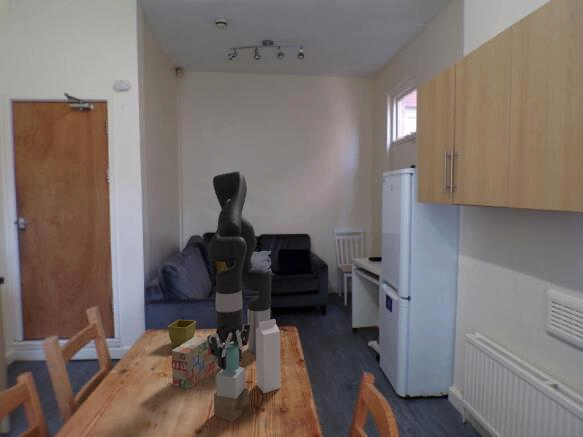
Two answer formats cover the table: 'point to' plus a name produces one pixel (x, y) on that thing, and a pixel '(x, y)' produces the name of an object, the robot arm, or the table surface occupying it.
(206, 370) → the stack of blocks
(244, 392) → the walnut block
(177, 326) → the flower pot
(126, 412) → the table surface
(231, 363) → the teal cylinder
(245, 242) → the robot arm
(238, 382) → the grey block
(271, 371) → the milk
